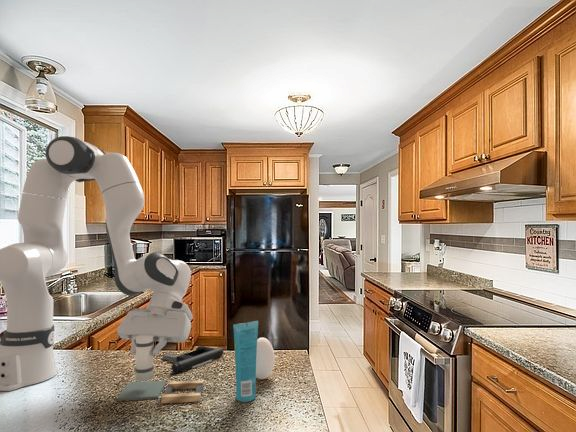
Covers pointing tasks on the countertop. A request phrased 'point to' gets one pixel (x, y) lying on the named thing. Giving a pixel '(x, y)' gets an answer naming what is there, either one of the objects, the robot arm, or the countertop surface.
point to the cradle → (185, 397)
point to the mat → (142, 390)
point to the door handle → (193, 358)
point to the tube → (245, 359)
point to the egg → (264, 358)
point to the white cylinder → (144, 357)
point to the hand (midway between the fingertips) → (143, 354)
